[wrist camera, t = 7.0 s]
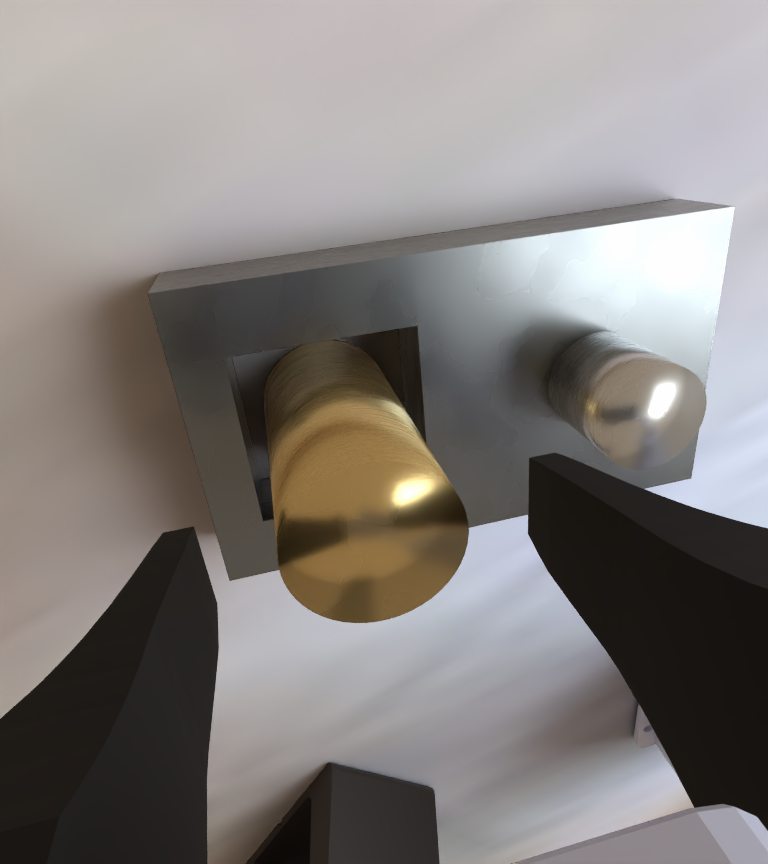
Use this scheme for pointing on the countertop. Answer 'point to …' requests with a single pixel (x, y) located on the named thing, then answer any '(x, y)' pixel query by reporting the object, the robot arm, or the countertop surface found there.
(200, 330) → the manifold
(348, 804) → the phone stand
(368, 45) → the countertop surface
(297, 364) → the cylinder
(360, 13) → the countertop surface
